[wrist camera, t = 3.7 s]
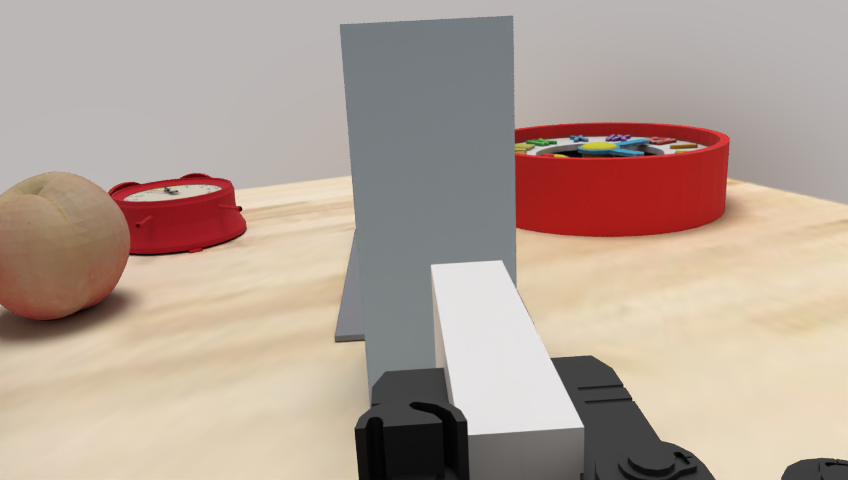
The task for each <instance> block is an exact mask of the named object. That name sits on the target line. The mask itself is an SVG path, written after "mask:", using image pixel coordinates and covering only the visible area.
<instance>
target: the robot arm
mask: <svg viewBox="0 0 848 480" xmlns="http://www.w3.org/2000/svg"><path fill="white" fill-rule="evenodd" d="M431 279H432V298H433V318H434V337H435V356H436V368H429V369H414V370H399V371H385V372H384V373H383V375H382V376H381V377H380V378H379V379H378V380H377V382H376V383H375V384H374V385H373V386H372V397H371V409H369V410H368V411H367V412H366V413H364V414H363V415H362V416H361V417H360V418H359V420H358V422H357V424H356V427H355V440H356V451H357V462H358V474H359V480H715V478H714V477H713V475H712V474H711V473H710V471H709V470H708V469H707V467H706V466H705V464H703V463H702V462H701V461H700V460H699V459H698V458H697V457H696V456H695V455H694V454H693V453H691V452H689V451H687V450H685V449H683V448H681V447H679V446H677V445H675V444H672V443H668V442H664V441H661V440H660V439H659V437H658V436H657V434H656V433H655V431H654V430H653V428H652V427H651V425H650V424H649V422H648V421H647V419H646V418H645V416H644V415H643V413H642V412H641V410H640V409H639V407H638V406H637V404H636V403H635V401H632V397H631V395H630V394H629V392H628V391H627V389H626V388H624V387H623V383H622V382H621V380H620V379H619V377H618V376H617V374H616V373H615V371H614V370H613V368H611V367H609V366H608V365H606V364H604V363H603V362H601V361H600V360H598V359H596V358H595V357H593V356H591V355H590V356H575V357H560V358H550V357H549V355H548V353H547V351H546V349H545V347H544V345H543V343H542V341H541V339H540V337H539V335H538V333H537V331H536V328H535V326H534V324H533V322H532V320H531V318H530V316H529V314H528V312H527V310H526V308H525V306H524V304H523V302H522V300H521V298H520V296H519V294H518V292H517V290H516V288H515V286H514V284H513V282H512V280H511V278H510V276H509V274H508V272H507V270H506V268H505V266H504V264H503V262H502V260H498V261H482V262H466V263H450V264H434V265H431ZM781 480H848V461H846V460H840V459H837V460H835V459H830V458H817V459H806V460H800V461H798V462H796V463H794V464H792V465H790V466H788V467H787V468H786V470H785V472H784V474H783V475H782V477H781Z"/></svg>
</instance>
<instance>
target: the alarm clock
mask: <svg viewBox="0 0 848 480" xmlns="http://www.w3.org/2000/svg"><path fill="white" fill-rule="evenodd" d="M108 194H109V195H110V197H111V198H112V199H113V200H114V201H115V203H116V204H117V205H118V206H119V208H120V209H121V211H122V212H123V214H124V217H125V219H126V221H127V224H128V228H129V233H130V251H129V253H135V254H157V253H168V252H178V251H185V250H188V251H189V252H190V253H195V252H200V251H203V250H202V247H206V246H210V245H214V244H218V243H221V242H224V241H227V240H229V239H232V238H234V237H236V236H238V235H240V234H241V233H243V232H244V231H245V230H246V221H245V219H244V218H243V217H242V215H241V214H240V212H241V211H242V207H241V206H236V202H235V193H234V187H233V185H232V183H231V181H229V180H226V179H221V178H212V177H210V176H208V175H205V174H201V173H193V174H188V175H185V176H183V177H181V178H180V179H171V180H163V181H157V182H150V183H145V184H139V183H135V182H126V183H121V184H118V185H116V186H114V187H113V188H112V189H111V190H110V191H109V192H108Z"/></svg>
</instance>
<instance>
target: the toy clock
mask: <svg viewBox="0 0 848 480" xmlns="http://www.w3.org/2000/svg"><path fill="white" fill-rule="evenodd" d="M729 140H730V138H729V137H728V136H727V135H725V134H722V133H719V132H716V131H712V130H709V129H703V128H697V127H689V126H681V125H670V124H654V123H575V124H558V125H546V126H535V127H527V128H519V129H515V207H516V228H520V229H525V230H531V231H536V232H543V233H551V234H560V235H573V236H593V237H621V236H642V235H654V234H663V233H670V232H677V231H683V230H687V229H691V228H696V227H699V226H702V225H705V224H708V223H711V222H713V221H715V220H716V219H718V218H720V217H721V216H722V215H723V213H724V212H725V198H726V184H727V170H728V156H729Z"/></svg>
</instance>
